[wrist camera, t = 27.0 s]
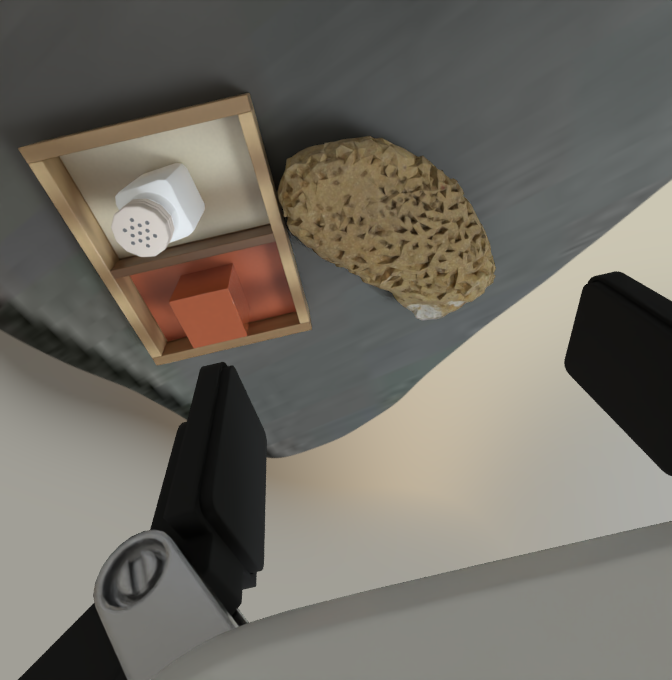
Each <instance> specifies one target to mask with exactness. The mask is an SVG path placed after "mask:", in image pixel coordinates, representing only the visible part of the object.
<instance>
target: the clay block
mask: <svg viewBox="0 0 672 680" xmlns="http://www.w3.org/2000/svg"><path fill="white" fill-rule="evenodd" d="M169 304H170V306H171V307H172V309H173V311H174V313H175V315H176V317H177V319H178V320H179V322H180V324H181V326H182V328H183V330H184V332H185V333H186V335H187V337H188V339H189V341H190V343H191V344H192V346H193V348H198V347H203V346H207V345H211V344H215V343H220V342H224V341H228V340H233V339H237V338H241V337H245V336H247V334H248V325H249V315H250V306H249V303H248V300H247V298H246V295H245V293H244V290H243V288H242V285H241V282H240V280H239V277H238V275H237V272H236V269H235V267H234V264H233V263H232V264H228V265H224V266H219V267H215V268H211V269H206V270H202V271H198V272H194V273H189V274H185V275H181V276H180V279H179V281H178V283H177V285H176V287H175V290H174V292H173V294H172V296H171V298H170V300H169Z"/></svg>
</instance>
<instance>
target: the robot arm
mask: <svg viewBox="0 0 672 680" xmlns="http://www.w3.org/2000/svg"><path fill="white" fill-rule="evenodd" d="M564 364H565V368H566V370H567V372H568V373H569V375H570V376H571V377H572V378H573V379H574V380H575V381H576V382H577V383H578V384H579V385H580V386H581V387H582V388H583V389H584V390H585V391H586V392H587V393H588V394H589V395H590V396H591V397H592V398H593V399H594V400H595V402H596V403H597V404H598V405H599V406H600V407H601V408H602V409H603V410H604V411H605V412H606V413H607V414H608V415H609V416H610V417H611V418H612V419H613V420H614V421H615V422H616V423H617V424H618V425H619V426H620V427H621V428H622V429H623V430H624V431H625V432H626V433H627V434H628V436H629V437H631V439H632V440H633V441H634V442H635V443H636V444H637V445H638V446H639V447H640V448H641V449H642V450H643V451H644V452H645V453H646V454H647V455H648V456H649V457H650V458H651V459H652V460H653V461H654V462H655V463H656V464H657V466H658V467H659V468H660V469H661V470H662V471H664V472H665V473H666V474H668V475H670V476H672V301H670V300H668V299H667V298H665V297H663V296H662V295H660V294H658V293H657V292H655V291H653V290H651V289H650V288H648V287H646V286H644V285H643V284H641V283H639V282H637V281H636V280H634V279H632V278H631V277H629V276H627V275H625V274H624V273H621V272H611V273H607V274H602V275H598V276H594V277H592V278H591V279H590V280H589V281H588V284H586V285H585V286H584V287H583V290H582V294H581V297H580V302H579V305H578V309H577V313H576V317H575V321H574V325H573V329H572V333H571V337H570V341H569V345H568V349H567V353H566V357H565V362H564ZM266 451H267V440H266V434H265V431H264V428H263V426H262V424H261V422H260V420H259V418H258V416H257V414H256V411H255V409H254V407H253V405H252V403H251V401H250V399H249V397H248V395H247V392H246V390H245V388H244V386H243V384H242V382H241V380H240V378H239V375H238V373H237V371H236V369H235V367H234V366H227V365H226V363H225V362H220V363H216V364H212V365H207V366H203V367H202V368H201V369H200V372H199V376H198V380H197V384H196V388H195V392H194V396H193V400H192V404H191V408H190V412H189V416H188V420H187V422H184V423H182V424H181V425H180V426H179V428H178V430H177V434H176V437H175V441H174V445H173V448H172V452H171V456H170V459H169V463H168V467H167V470H166V474H165V478H164V481H163V485H162V489H161V492H160V496H159V500H158V503H157V507H156V511H155V515H154V518H153V522H152V525H151V529H150V530H149V531H143V532H141V533H138V534H136V535H134V536H132V537H130V538H129V539H128V540H126V541H125V542H123V543H122V544H121V545H120V546H119V547H118V548H117V549H116V550H115V551H114V552H113V553H112V554H111V555H110V556H109V558H108V559H107V560H106V562H105V563H104V565H103V567H102V568H101V570H100V572H99V575H98V577H97V580H96V582H95V588H94V594H93V597H94V602H95V603H94V604H93V605H92V606H91V607H90V608H89V609H88V610H87V611H86V612H85V613H84V614H83V615H82V616H81V617H80V618H79V619H78V620H77V621H76V622H75V623H74V624H73V625H72V626H71V627H70V628H69V629H68V630H67V631H66V632H65V633H64V634H63V635H62V636H61V637H60V638H59V639H58V640H57V641H56V642H55V643H54V644H53V645H52V646H51V647H50V648H49V649H48V650H47V651H46V652H45V653H44V654H43V655H42V656H41V657H40V658H39V659H38V660H37V661H36V662H35V663H34V664H33V665H32V666H31V667H30V668H29V669H28V670H27V671H26V672H25V673H24V674H23V675H22V676H21V677H20V678H19V679H18V680H672V521H669V522H665V523H660V524H656V525H651V526H647V527H642V528H638V529H633V530H629V531H625V532H620V533H616V534H612V535H607V536H603V537H598V538H594V539H589V540H585V541H581V542H576V543H572V544H568V545H563V546H559V547H555V548H550V549H545V550H541V551H537V552H532V553H528V554H524V555H519V556H515V557H511V558H506V559H502V560H497V561H493V562H489V563H484V564H480V565H476V566H471V567H467V568H463V569H459V570H454V571H450V572H446V573H441V574H437V575H433V576H429V577H424V578H420V579H416V580H411V581H407V582H403V583H399V584H394V585H390V586H386V587H381V588H377V589H373V590H369V591H365V592H360V593H357V594H353V595H349V596H344V597H341V598H337V599H333V600H329V601H325V602H321V603H317V604H313V605H309V606H305V607H301V608H297V609H293V610H289V611H285V612H282V613H279V614H276V615H273V616H270V617H266V618H263V619H260V620H256V621H254V622H250V623H249V622H248V621H247V620H246V618H245V617H244V616H243V614H242V613H241V612H240V610H239V609H238V607H239V606H240V604H241V602H242V590H243V589H247V588H252V587H256V574H257V572H258V571H261V570H262V569H263V566H264V538H265V534H264V533H265V495H266Z"/></svg>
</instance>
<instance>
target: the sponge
mask: <svg viewBox="0 0 672 680" xmlns="http://www.w3.org/2000/svg"><path fill="white" fill-rule="evenodd" d="M277 195H278V200H279V202H280V204H281V205H282V207H283V211H284V215H283V216H284V217H287V218H288V220H287V225H288V228H289V230H290V232H291V233H292V234H293V235H294V236H296V237H297V238H298V239H299V240H300V241H301V242H302V243H303V244H304V245H305V246H307V247H309V248H312V249H313V251H314V252H315V253H316V254H318V255H319V256H320V257H322V258H323V259H325V260H327V261H329V262H331V263H334V264H336V266H337V267H344V268H346V269H348V270H349V272H350V273H353V274H355V275H359V276H360V277H361V279H362V281H363V282H365V283H368V284H370V285H373V286H376V287H378V288H380V289H384V290H387V291H390V292H392V293H393V296H394V297H395V299H396V300H397V301H398V302H399V303H400V304H401V305H403V307H405V308H408V309H409V310H411V311H412V312H413V313H414V315H415V317H416V318H418V319H420V320H428V319H438V318H442V317H444V316H445V315H447V314H448V313H449V312H453V311H455V310H457V309H459V308H460V307H462V306H463V305H464V304H465V303H466V302H472V301H473V300H475V299H476V298H477V297H479V296H480V295H482V294H483V293H484V292H485V288H486V287H487V286H489V285H491V284H492V283H493V280H494V278H495V276H496V275H494V271H495V269H496V267H495V263H494V260H493V256H492V254H491V248H490V243H489V240H488V238H487V235H486V232H485V230H484V228H483V226H482V224H481V223H480V221H479V219H478V217H477V216H476V214H475V211H474V209H473V207H472V205H471V204H470V203H469V201H468V200H467V199H466V198H465V197H464V196H463V195H464V192H463V190H462V188H461V187H460V186H459V184H458V183H457V181H456V180H455V179H454V178H453V179H450V178H449V177H447V176H446V175H445V174H444V173H443V171H442V170H441V171H440V170H438V169H437V168H436V167H435V166H434V165H433V164H432V163H431V162H430V161H428V160H427V159H426V158H425V157H424V156H420V157H417V156H415V155H414V154H412V153H410V152H408V151H407V150H406V149H404V148H401V147H399V146H396V145H394V144H392V143H390V142H389V141H387V140H385V139H383V138H376V139H375V138H373V137H371V136H366V137H361V138H351V139H342V140H339V141H336V142H328V143H326V142H325V144H323V145H315V146H311V147H308V148H306V149H304V150H301V151H299V152H298V153H296V154H295V155H294V156H293V157H290V158H288V159H287V162H286V169H285V171H284V173H283V176H282V178H281V181H280V184H279V187H278V191H277Z"/></svg>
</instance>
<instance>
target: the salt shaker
mask: <svg viewBox="0 0 672 680" xmlns="http://www.w3.org/2000/svg"><path fill="white" fill-rule="evenodd" d="M115 199H116V205H117V207H118V209H119V211H118V212H117V213H115V214H114V217H113V221H112V225H111V228H112V231H113V234H114V236H115V239H116V241H117V242H118V243H119V244H120V245H121V246H122V247H123V248H124V249H125V250H126V251H127V252H130V253H132V254H135V255H137V256H140V257H152V256H156V255H158V254H159V253H161V252H162V251H164V250H165V249H166V247H167V246H168V244H169V243H171V242H174V241H176V240H179V239H182V238H184V237H187V236H189V235H190V234H191V233H192V232H193V231H194V230H195V228H196V226H197V224H198V222H199V220H200V218H201V216H202V214H203V212H204V210H205V205H204V202H203V200H202V198H201V196H200V194H199V192H198V190H197V187H196V185H195V183H194V181H193V179H192V177H191V175H190V173H189V171H188V169H187V168H186V167H185V166H184V165H183V164H182V163H174V164H171V165H168V166H165V167H162V168H159V169H156V170H153V171H150V172H147V173H145V174H142V175H141V176H139V177H138V178H137V179H135V180H134V181H133V182H131V183H130V184H129V185H127V186H126V187H125V188H123V189H122V190H121V191H120V192H118V194H117V195H116V196H115Z"/></svg>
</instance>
